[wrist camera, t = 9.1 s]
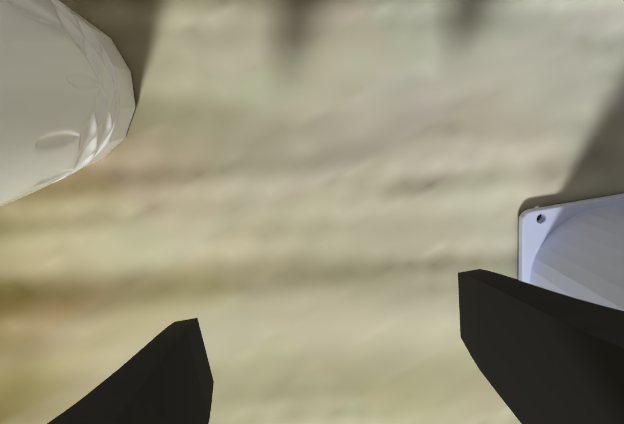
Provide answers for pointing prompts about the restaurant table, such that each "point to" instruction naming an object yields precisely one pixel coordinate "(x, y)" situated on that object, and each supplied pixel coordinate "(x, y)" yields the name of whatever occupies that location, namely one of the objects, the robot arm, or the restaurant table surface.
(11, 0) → the white cup
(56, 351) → the restaurant table surface
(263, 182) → the restaurant table surface
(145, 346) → the robot arm
